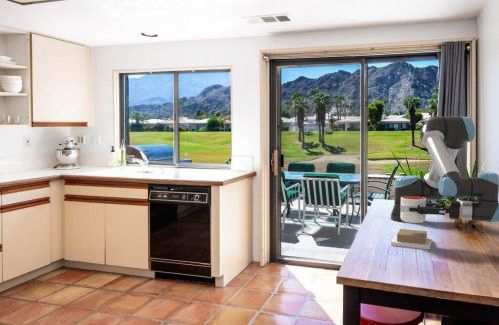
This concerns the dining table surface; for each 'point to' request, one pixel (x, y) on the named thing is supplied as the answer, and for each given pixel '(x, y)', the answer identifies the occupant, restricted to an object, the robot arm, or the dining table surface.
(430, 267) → the dining table surface
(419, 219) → the cup
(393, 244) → the plinth
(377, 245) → the dining table surface
